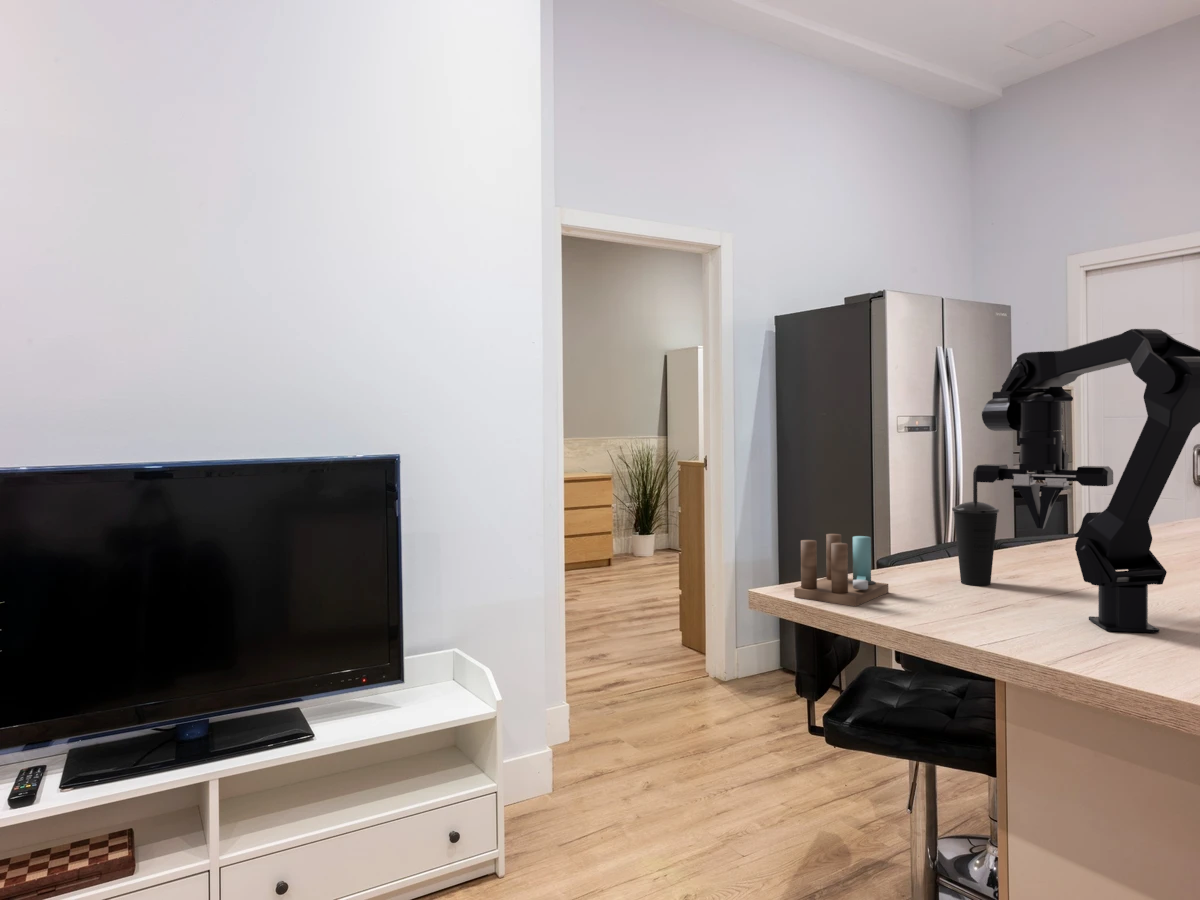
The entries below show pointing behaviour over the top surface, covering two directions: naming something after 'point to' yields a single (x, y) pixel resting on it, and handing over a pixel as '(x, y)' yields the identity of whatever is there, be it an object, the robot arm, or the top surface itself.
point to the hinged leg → (861, 562)
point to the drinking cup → (975, 540)
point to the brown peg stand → (832, 576)
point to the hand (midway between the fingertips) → (1040, 528)
